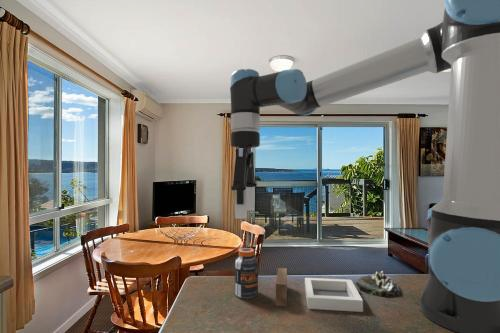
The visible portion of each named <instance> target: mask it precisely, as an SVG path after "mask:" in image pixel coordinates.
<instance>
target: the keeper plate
mask: <svg viewBox="0 0 500 333" xmlns="http://www.w3.org/2000/svg"><path fill="white" fill-rule="evenodd" d="M304 291H305V298H306V306H307V309H308V310H309V309H310V310H322V311H323V310H324V311H325V310H326V311H338V312H339V311H343V312H345V311H346V312H358V313H359V312H360V313H364V299H363V298H362V296H361V295H360V293H359V290H358V289H357V287H356V286H355V284H354V282H353V280H352V279H345V278H344V279H341V278H322V277H321V278H320V277H319V278H318V277H317V278H316V277H304Z"/></svg>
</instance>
